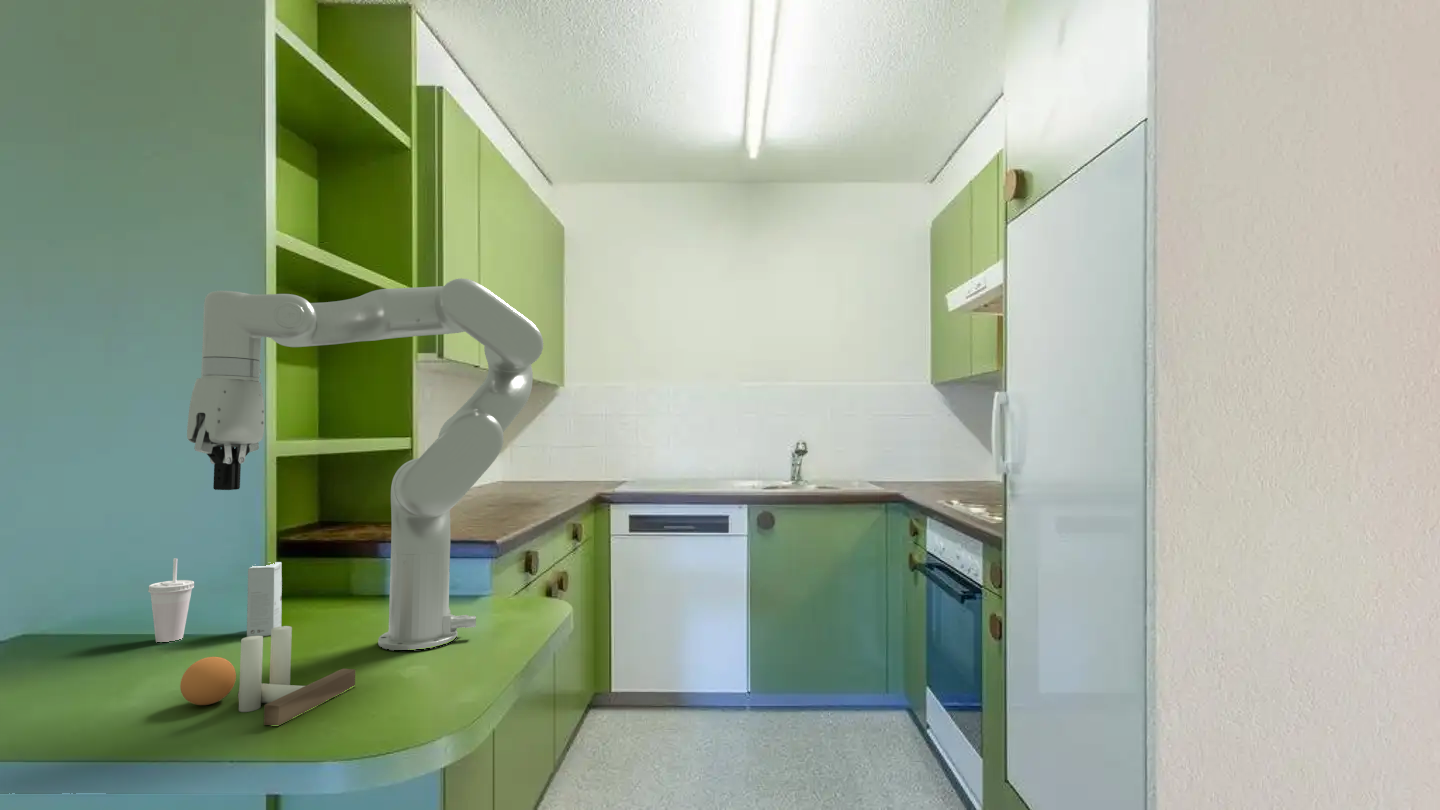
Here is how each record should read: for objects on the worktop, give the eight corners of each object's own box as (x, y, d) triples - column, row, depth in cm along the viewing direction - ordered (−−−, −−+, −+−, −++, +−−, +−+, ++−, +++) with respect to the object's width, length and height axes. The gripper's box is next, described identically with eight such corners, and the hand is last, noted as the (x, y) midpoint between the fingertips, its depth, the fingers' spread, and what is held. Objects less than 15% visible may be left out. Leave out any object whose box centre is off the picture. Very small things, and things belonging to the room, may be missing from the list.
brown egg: (243, 647, 97) (223, 671, 99) (192, 647, 93) (172, 672, 95) (245, 689, 94) (224, 712, 96) (192, 691, 89) (171, 715, 91)
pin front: (254, 689, 97) (315, 693, 96) (243, 705, 95) (304, 709, 94) (247, 678, 96) (308, 682, 95) (235, 694, 94) (297, 698, 93)
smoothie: (166, 646, 120) (170, 562, 120) (135, 644, 121) (139, 560, 121) (201, 636, 126) (204, 556, 126) (171, 633, 127) (175, 554, 128)
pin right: (291, 690, 99) (293, 625, 100) (287, 696, 97) (290, 629, 97) (271, 693, 98) (273, 626, 99) (267, 699, 96) (269, 631, 96)
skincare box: (274, 635, 126) (276, 566, 127) (244, 638, 125) (247, 568, 125) (282, 627, 132) (284, 561, 133) (254, 629, 131) (256, 562, 131)
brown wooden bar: (263, 725, 87) (264, 705, 87) (342, 686, 101) (342, 668, 101) (278, 727, 87) (279, 706, 87) (354, 687, 101) (355, 669, 101)
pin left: (262, 703, 94) (264, 635, 95) (258, 710, 92) (260, 639, 92) (241, 706, 93) (243, 636, 94) (236, 712, 91) (239, 641, 92)
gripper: (248, 375, 119) (244, 486, 118) (165, 367, 105) (160, 492, 104) (288, 375, 118) (284, 486, 117) (210, 366, 103) (205, 493, 103)
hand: (226, 489), depth 111 cm, fingers closed
